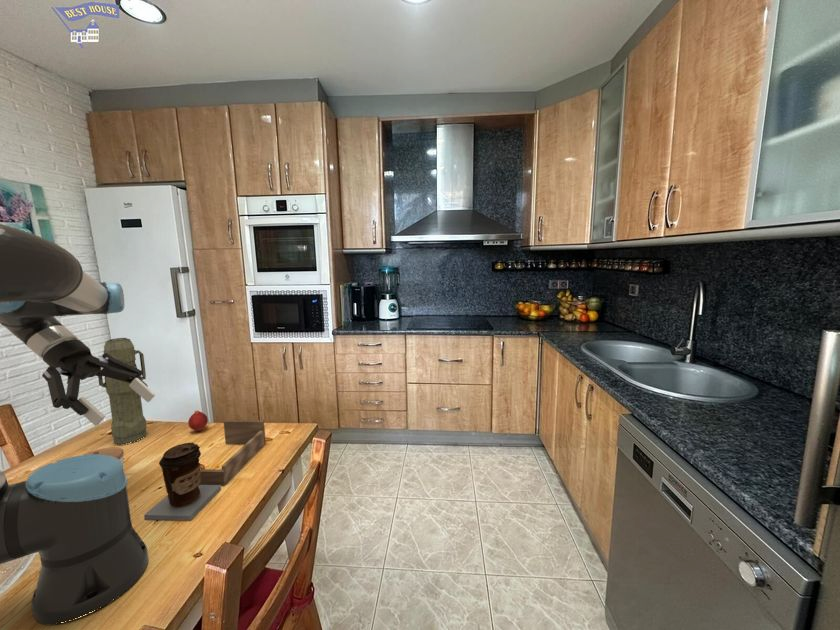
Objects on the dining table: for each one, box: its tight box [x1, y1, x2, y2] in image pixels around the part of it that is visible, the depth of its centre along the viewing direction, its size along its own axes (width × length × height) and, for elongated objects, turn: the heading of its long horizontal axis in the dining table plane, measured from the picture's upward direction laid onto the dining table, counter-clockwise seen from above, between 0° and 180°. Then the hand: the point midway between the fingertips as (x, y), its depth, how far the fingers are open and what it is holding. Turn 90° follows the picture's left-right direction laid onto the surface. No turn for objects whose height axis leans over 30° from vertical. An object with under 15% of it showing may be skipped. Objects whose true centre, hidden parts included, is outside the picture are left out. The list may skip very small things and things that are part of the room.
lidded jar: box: [83, 446, 125, 466], centre depth 89 cm, size 11×11×9 cm
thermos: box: [97, 337, 148, 445], centre depth 112 cm, size 9×12×35 cm
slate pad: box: [143, 485, 222, 522], centre depth 82 cm, size 11×11×1 cm
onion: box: [187, 409, 209, 432], centre depth 119 cm, size 6×6×8 cm
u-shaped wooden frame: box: [199, 419, 266, 487], centre depth 99 cm, size 22×13×8 cm, turn 178°
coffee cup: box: [158, 442, 202, 508], centre depth 81 cm, size 9×8×13 cm
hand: (128, 408), depth 81 cm, fingers open, 13 cm apart
